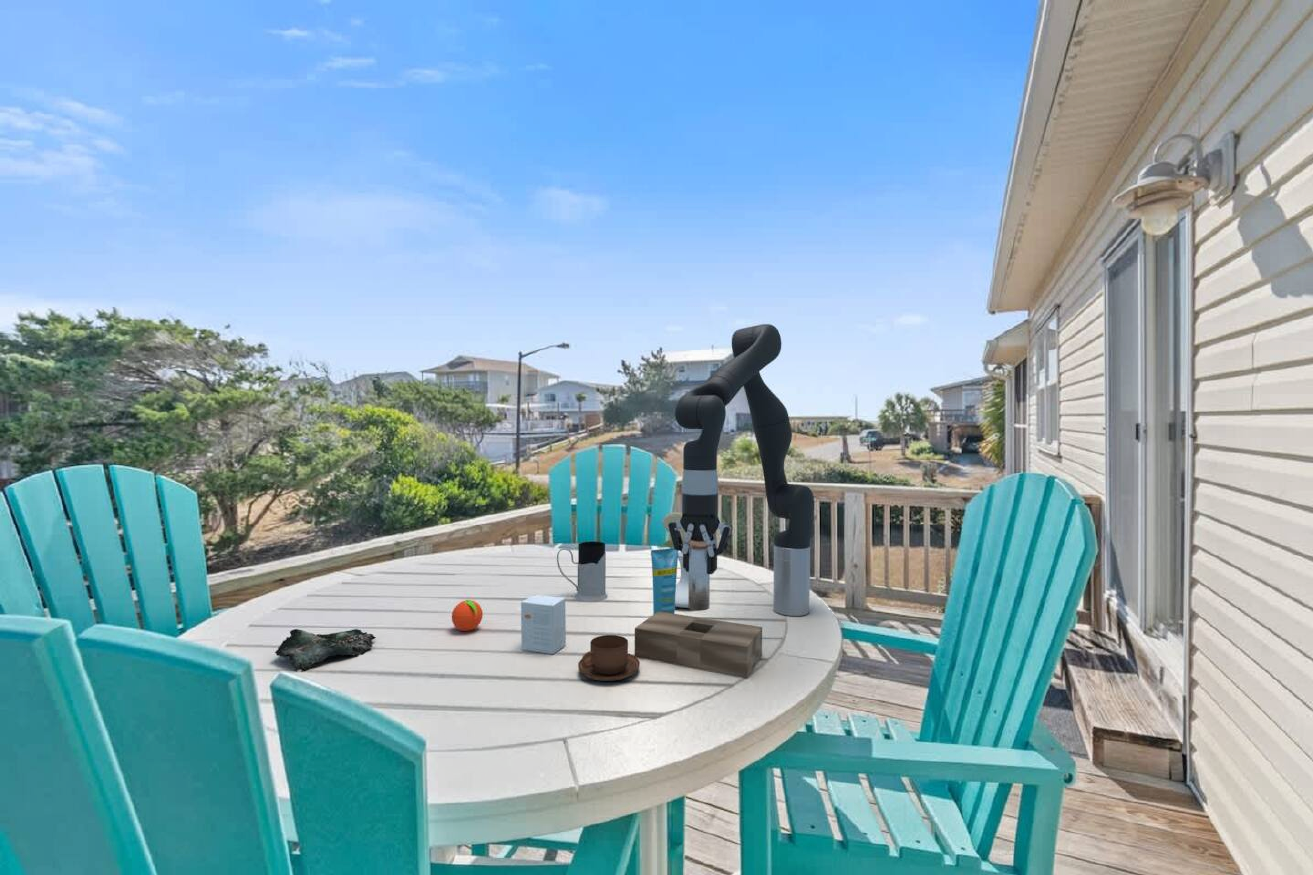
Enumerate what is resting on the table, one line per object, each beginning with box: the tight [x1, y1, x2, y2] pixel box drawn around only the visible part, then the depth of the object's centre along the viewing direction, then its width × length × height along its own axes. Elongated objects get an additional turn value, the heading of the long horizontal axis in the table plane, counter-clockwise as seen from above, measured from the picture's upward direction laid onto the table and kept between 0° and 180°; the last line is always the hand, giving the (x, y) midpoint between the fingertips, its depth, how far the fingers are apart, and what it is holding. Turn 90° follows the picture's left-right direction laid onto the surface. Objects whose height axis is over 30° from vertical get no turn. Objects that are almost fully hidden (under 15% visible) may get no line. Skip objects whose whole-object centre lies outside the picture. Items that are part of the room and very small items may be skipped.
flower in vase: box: [661, 511, 690, 609], centre depth 153 cm, size 13×11×25 cm
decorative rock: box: [274, 628, 376, 673], centre depth 120 cm, size 19×6×15 cm
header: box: [634, 611, 763, 679], centre depth 118 cm, size 12×24×6 cm, turn 66°
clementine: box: [451, 599, 484, 632], centre depth 132 cm, size 8×7×7 cm
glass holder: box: [556, 541, 608, 603], centre depth 159 cm, size 9×14×15 cm, turn 89°
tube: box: [650, 547, 680, 615], centre depth 134 cm, size 7×5×19 cm, turn 123°
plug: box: [688, 539, 711, 612], centre depth 118 cm, size 5×5×14 cm
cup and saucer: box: [577, 634, 641, 682], centre depth 110 cm, size 12×12×6 cm
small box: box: [520, 594, 567, 655], centre depth 122 cm, size 8×6×10 cm
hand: (699, 571), depth 118 cm, fingers closed on plug, 4 cm apart
